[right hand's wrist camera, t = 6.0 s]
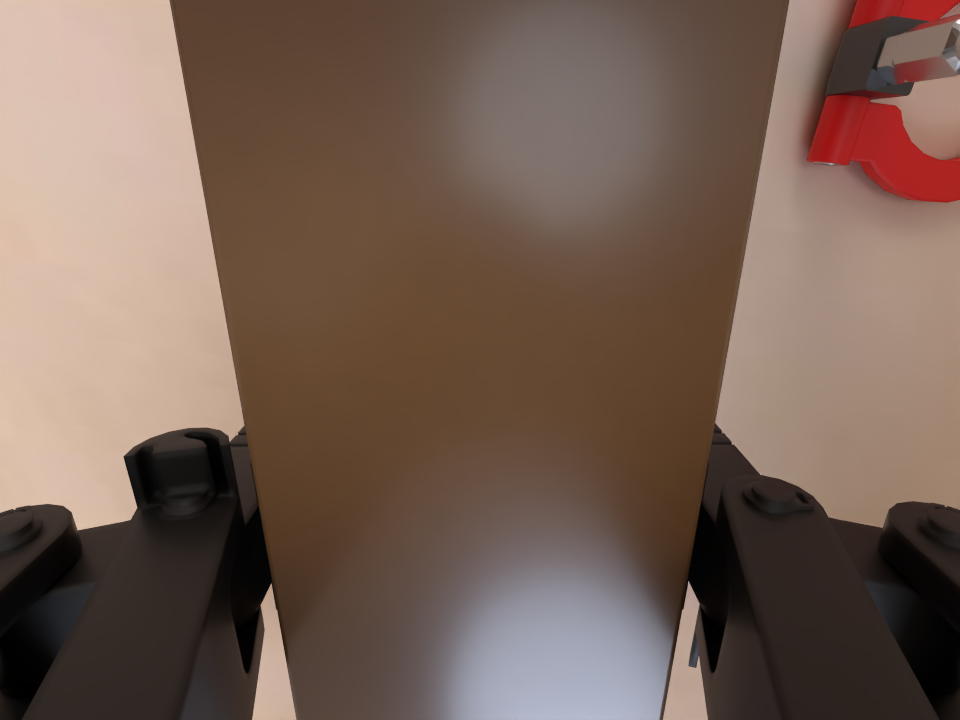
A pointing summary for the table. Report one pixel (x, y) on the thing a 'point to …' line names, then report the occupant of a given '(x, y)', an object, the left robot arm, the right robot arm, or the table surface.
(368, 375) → the bar
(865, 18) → the tow hook
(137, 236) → the table surface
